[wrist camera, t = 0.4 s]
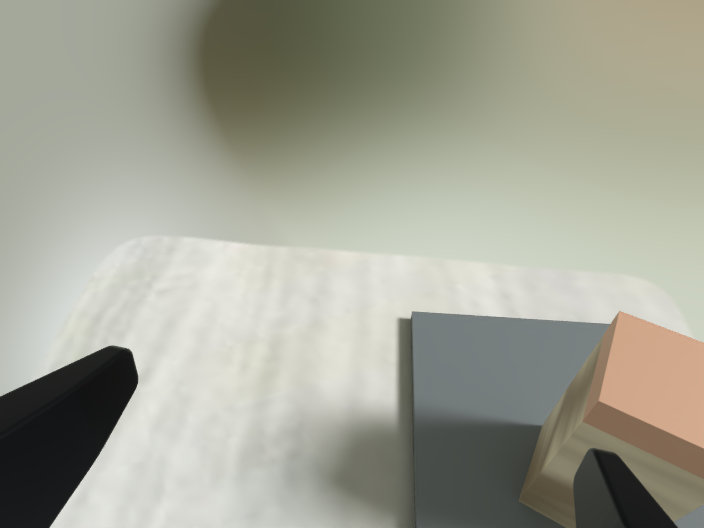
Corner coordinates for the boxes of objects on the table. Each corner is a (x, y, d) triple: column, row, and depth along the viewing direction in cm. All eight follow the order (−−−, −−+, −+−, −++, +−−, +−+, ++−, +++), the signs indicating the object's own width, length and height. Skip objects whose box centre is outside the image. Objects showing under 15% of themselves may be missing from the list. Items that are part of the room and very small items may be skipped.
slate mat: (939, 908, 15) (963, 915, 14) (422, 846, 15) (424, 851, 15) (658, 334, 30) (664, 327, 30) (411, 318, 31) (412, 311, 31)
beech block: (616, 555, 21) (757, 472, 14) (518, 501, 22) (598, 400, 15) (630, 468, 23) (753, 361, 16) (542, 425, 25) (619, 310, 18)
